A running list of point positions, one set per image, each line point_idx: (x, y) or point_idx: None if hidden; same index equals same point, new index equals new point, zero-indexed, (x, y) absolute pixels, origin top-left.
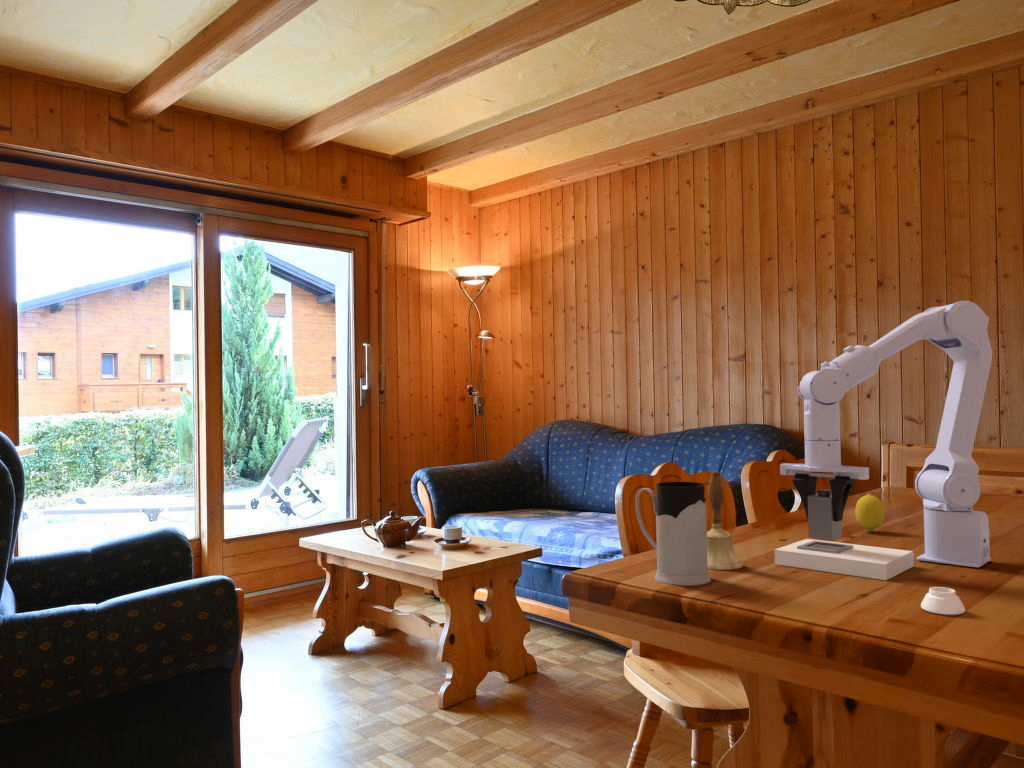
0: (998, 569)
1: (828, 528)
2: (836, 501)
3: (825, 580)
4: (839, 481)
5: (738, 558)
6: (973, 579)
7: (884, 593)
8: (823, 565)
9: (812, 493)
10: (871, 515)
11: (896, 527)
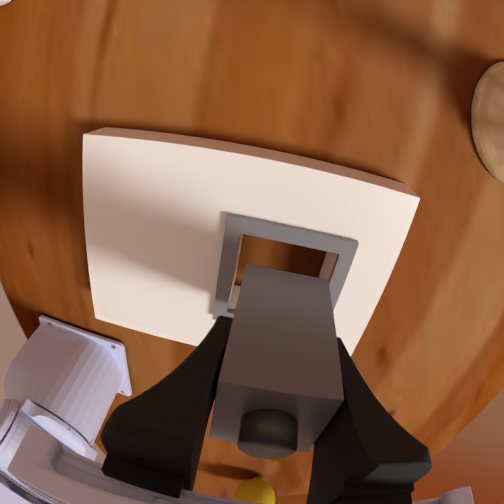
0: (28, 318)
1: (253, 288)
2: (196, 366)
3: (232, 40)
4: (123, 430)
5: (491, 129)
6: (15, 233)
7: (89, 6)
8: (261, 150)
9: (324, 439)
10: (248, 493)
11: (233, 490)
